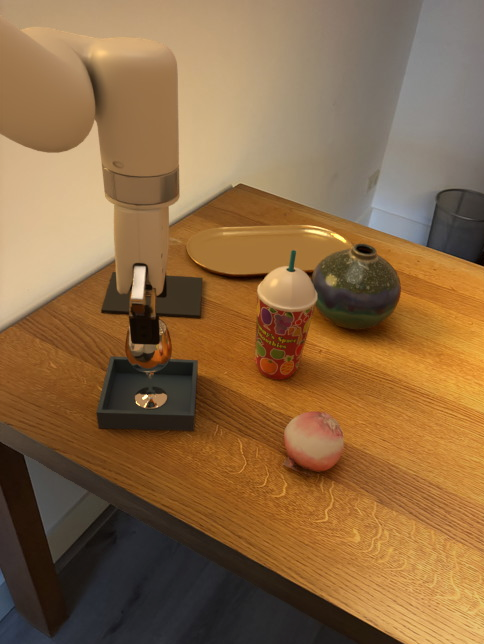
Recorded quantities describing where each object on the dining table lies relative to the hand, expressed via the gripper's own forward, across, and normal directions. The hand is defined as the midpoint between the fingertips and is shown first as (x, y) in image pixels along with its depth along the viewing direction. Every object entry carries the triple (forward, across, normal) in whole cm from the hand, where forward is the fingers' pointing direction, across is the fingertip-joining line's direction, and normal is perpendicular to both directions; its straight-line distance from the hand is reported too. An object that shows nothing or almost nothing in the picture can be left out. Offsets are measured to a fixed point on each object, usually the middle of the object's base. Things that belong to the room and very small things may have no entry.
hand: (150, 318), depth 66 cm
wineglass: (+14, 0, 0) cm, 14 cm away
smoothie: (+14, -8, +18) cm, 24 cm away
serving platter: (+14, -44, +19) cm, 50 cm away
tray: (+14, 0, 0) cm, 14 cm away
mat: (+14, -26, -2) cm, 29 cm away
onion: (+14, +10, +20) cm, 27 cm away
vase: (+14, -23, +32) cm, 42 cm away
